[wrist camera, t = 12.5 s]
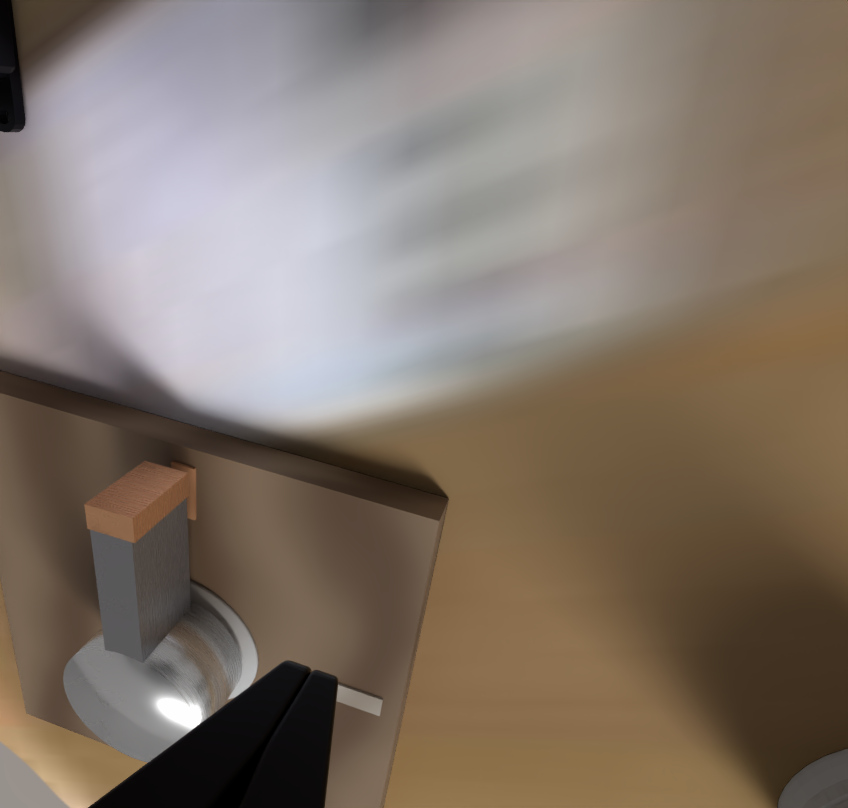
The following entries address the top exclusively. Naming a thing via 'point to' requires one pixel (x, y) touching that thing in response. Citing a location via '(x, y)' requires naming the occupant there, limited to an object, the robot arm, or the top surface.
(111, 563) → the lock knob
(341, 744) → the lock board
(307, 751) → the robot arm
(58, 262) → the top surface
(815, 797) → the grey black mug
